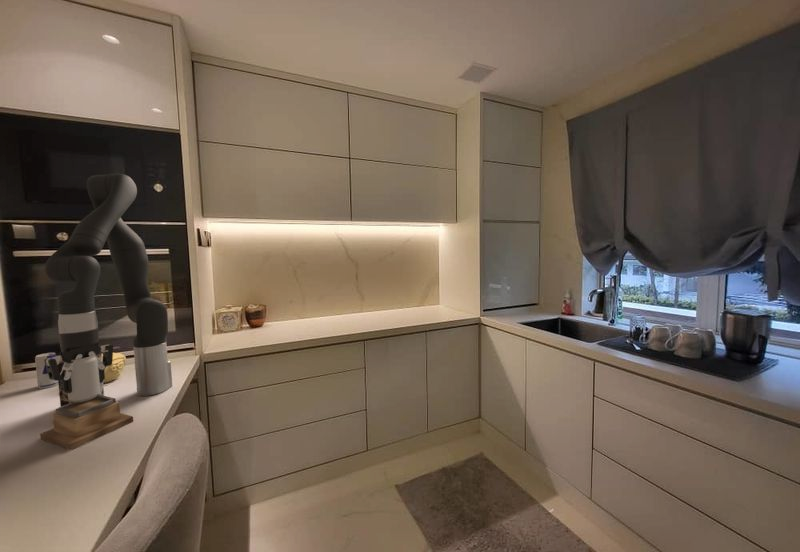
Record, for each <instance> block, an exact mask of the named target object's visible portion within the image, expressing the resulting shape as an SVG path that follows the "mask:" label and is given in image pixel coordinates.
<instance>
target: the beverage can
mask: <svg viewBox="0 0 800 552" xmlns="http://www.w3.org/2000/svg"><path fill="white" fill-rule="evenodd" d="M71 361H74V360H71ZM71 363H72V362H71ZM71 363H65V367H67V368H69V367H70V365H71ZM69 379H71V384H72V392H71V393H68V400H70V401H73V402H82V401H86V400H90V399H92V398H95V397H96V396H97V395H98V394H99V393H100V381H99V370H98V359H97V358H96V357H95V355H93V356H89V357H86V358H81V359H78V360H75V362H74V364H73V371H71V376H70V378H69Z"/></svg>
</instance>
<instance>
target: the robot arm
mask: <svg viewBox="0 0 800 552" xmlns="http://www.w3.org/2000/svg"><path fill="white" fill-rule="evenodd" d="M86 189H87V194H88V196H89V198H90V201H91V203H92V205H93V207H94V210H93V211H91V212H90V213H89V214H87V215H86V216H85V217H84V218H82V219H81V220H80V221H79V222H78V224H77V225H76V227H75V229H74V230H73V232H72V234H71V235H70V238H69V239H68V240H67V241H66V242H65V243H63V245H61V246H60V247H59V248H58V249H57V250H56V251H54V252H53V253H52V254H51V255H50V256H49V258H47V260H46V262H45V264H44V274H45V276H46V277H47V278H48V279H49V280H51V281H53V282H57V283H72V282H73V283H76V284H75V286H74V288H73V289H71V290H66V291H62V292H60V293H59V294H58V295H57V311H58V319H57V324H58V335H59V347H60V353H59V355H57V356H56V357H53V358H46V359H45V360H44V361H45V365H46V368H47V372H48V376H49V379H51V380H56V381H58V380H60V383H61V390H62V391H63V392H65V393H71V392H72V384H71V379H69V378H70V376H71V371H73V364H74V362H75V360H78V359H81V358H86V357H89V356H93V355H95V357H96V358H97V359H98V370H99V381H100V383H102V382H103V380H104V379H105V373H104V369H105V367H107V366H109V365H111V364H112V359H113V353H114V345H112V344H108V343H107V344H106V343H105V344H104V345H100V342H99V341H100V336H99V326H98V325H99V322H98V316H97V312H96V305H95V294H96V289H97V285H98V283H99V279H100V275H101V265H100V263H99V262H98V260H97V259H96V258H94V256H96V255H99V254H100V253H101V251H103V250H102V249H103V248H104V245H105V243H107V245H108V249H109V253H110V256H111V260H112V263H113V265H114V268H115V271H116V273H117V278H118V281H119V283H120V285H121V289H122V292H123V297H124V298H123V299H124V303H125V305H124V306H125V310H126V315H127V317H128V318H129V320H130V321H131V322H133V323H135V324H136V336H134V337H133V339H132V343H133V345H132V347H133V356H134V357H133V359H134V368H135V370H134V371H135V379H136V381H135V383H136V392H137V393H136V394H137V396H139V397H140V396H141V397H148V396H155V395H157V394H160V393H163V392H166V391H167V390H168V389H170V388H171V387H173V376H172V375H173V374H172V362H171V361H170V360H168V359H169V358H168V348H167V336H168V334H169V315H168V314H169V313H168V309H167V307H166V305H165V304H164V302H162V301H161V300H157V299H154V298H153V296H152V293H151V290H150V288H149V283H148V276H149V275H148V273H149V265H150V263H149V257H148V252H147V248H146V247H145V243H144V241H143V239H142V238H141V237H140V236H139V235H138V234H137V233H136V232H135V231H134V230H133V229H132V228H131V227H130V226H129V225H127V223H126V222H124V220H123V219H122V216H123V215H124V214H125V213H126V211H127V210H128V208H129V207H130V206H132V203H134V201H135V200H136V198H137V194H138V188H137V185H136V183H135V181H134V180H133V179H132V178H131V177H130V176H129V175H127V174H123V173H109V174H95V175H91V176H90V177H88V178H87V181H86ZM100 352H101V353H103V358H102V362H101V360H100V359H99V358H98V357H97V355H98V354H100ZM61 360H63V361H64V362H65V363H71V362H72V363H71V365H70V367H69V368H67V367H65V363H64V365H63V367H62V371H61V373H59V369H58V366H57V365H58V364H59V361H61ZM71 360H74V361H71Z"/></svg>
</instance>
